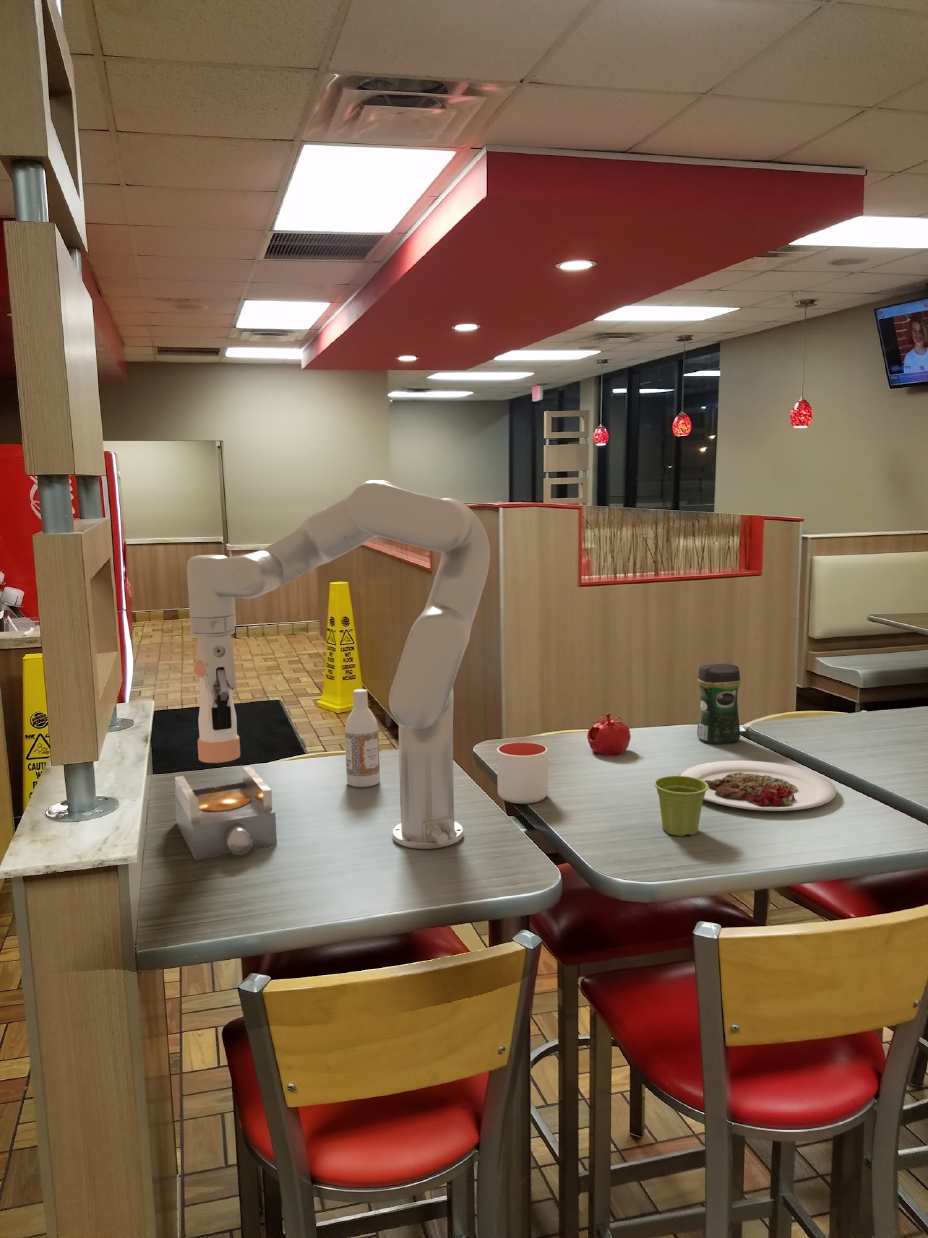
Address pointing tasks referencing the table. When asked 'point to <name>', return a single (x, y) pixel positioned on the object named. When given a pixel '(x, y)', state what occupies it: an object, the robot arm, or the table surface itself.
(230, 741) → the pepper shaker
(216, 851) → the portable stove
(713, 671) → the coffee jar
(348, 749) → the bath foam
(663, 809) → the plant pot
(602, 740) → the pomegranate
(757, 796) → the plated food
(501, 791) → the cup
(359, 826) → the table surface
